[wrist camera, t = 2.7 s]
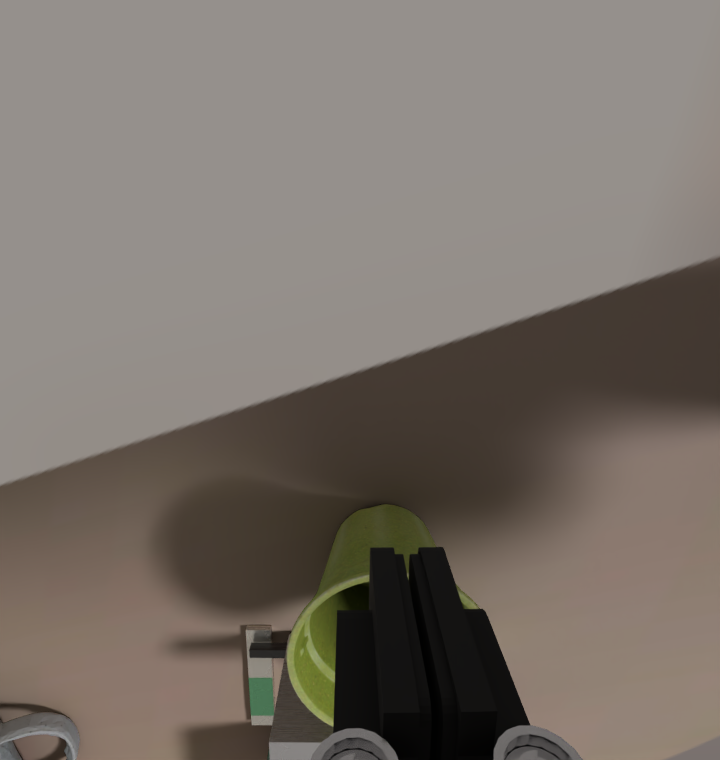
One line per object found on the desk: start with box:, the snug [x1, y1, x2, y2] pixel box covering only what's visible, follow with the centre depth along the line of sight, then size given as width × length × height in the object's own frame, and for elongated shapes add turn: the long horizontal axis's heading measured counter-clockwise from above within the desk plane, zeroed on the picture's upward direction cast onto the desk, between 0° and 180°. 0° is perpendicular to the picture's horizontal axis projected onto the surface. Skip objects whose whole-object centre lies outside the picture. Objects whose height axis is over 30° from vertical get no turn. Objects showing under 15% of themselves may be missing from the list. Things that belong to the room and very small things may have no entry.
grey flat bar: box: [249, 634, 333, 760], centre depth 27 cm, size 4×14×7 cm, turn 89°
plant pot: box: [286, 504, 480, 726], centre depth 25 cm, size 9×9×9 cm
